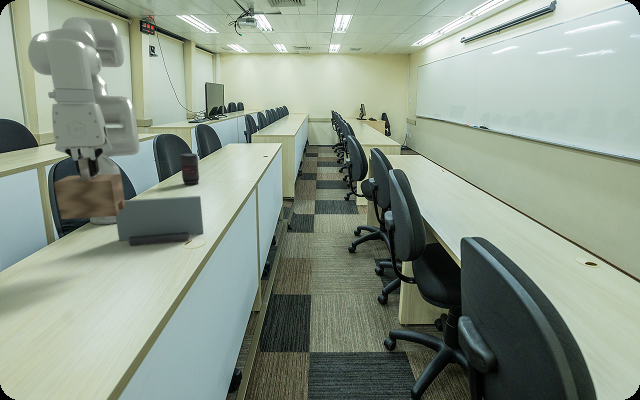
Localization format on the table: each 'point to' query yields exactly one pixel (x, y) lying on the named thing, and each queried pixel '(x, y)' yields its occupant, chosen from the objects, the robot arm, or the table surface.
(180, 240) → the rail
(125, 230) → the wall board
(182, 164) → the camera lens
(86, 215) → the walnut cabinet
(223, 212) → the table surface
